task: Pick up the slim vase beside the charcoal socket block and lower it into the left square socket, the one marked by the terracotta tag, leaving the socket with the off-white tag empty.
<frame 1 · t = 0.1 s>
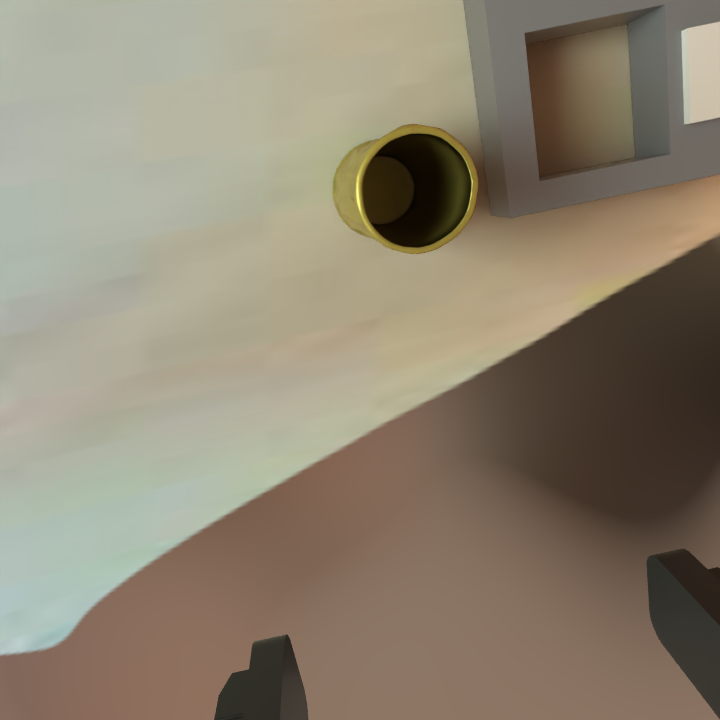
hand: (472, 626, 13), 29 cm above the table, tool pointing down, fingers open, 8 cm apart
vase: (379, 190, 38), on the table
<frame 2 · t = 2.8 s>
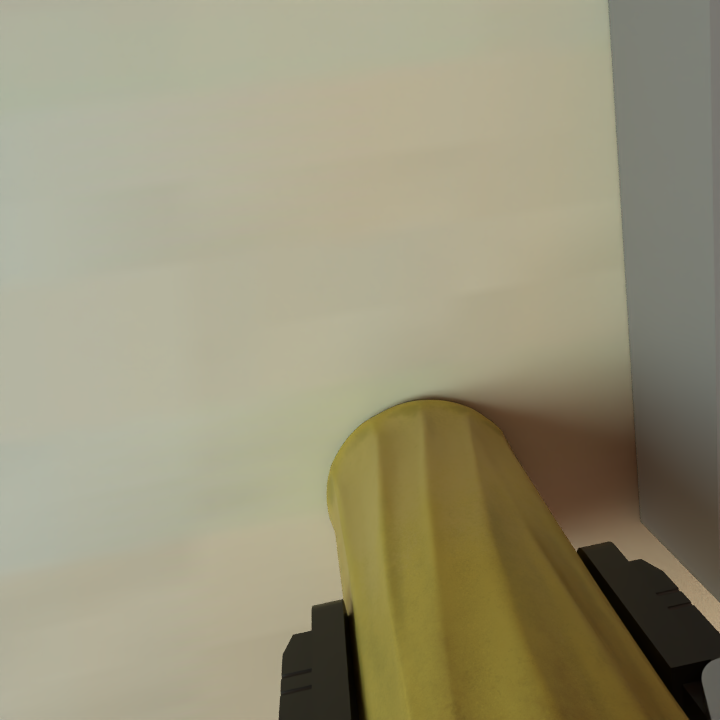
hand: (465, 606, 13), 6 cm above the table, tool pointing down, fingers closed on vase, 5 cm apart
vase: (421, 484, 19), on the table, touching gripper
when the fingers open (7 cm above the table, at t = 8.4 s): vase drops 1 cm, resting in socket block.
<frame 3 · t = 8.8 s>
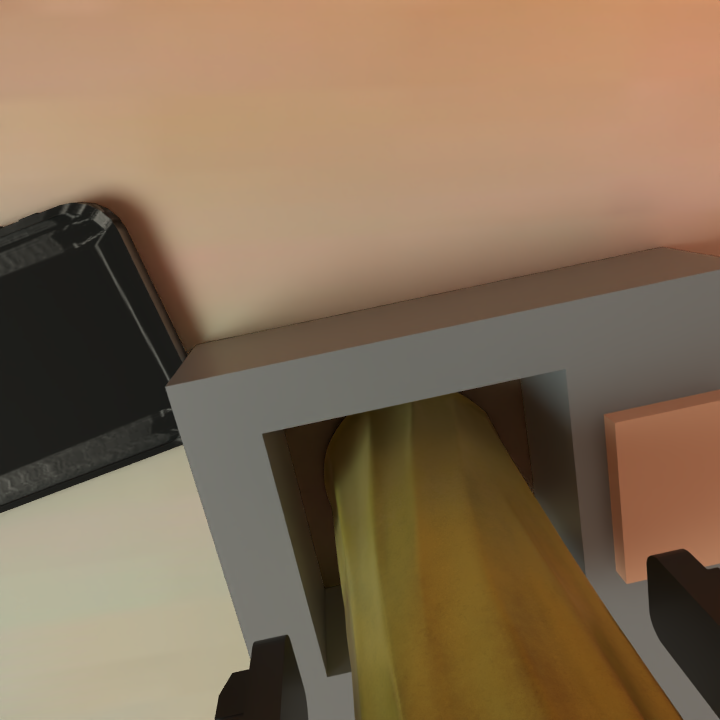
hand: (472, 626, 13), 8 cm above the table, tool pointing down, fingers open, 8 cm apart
socket block: (442, 615, 22), on the table
vase: (412, 464, 20), resting in socket block
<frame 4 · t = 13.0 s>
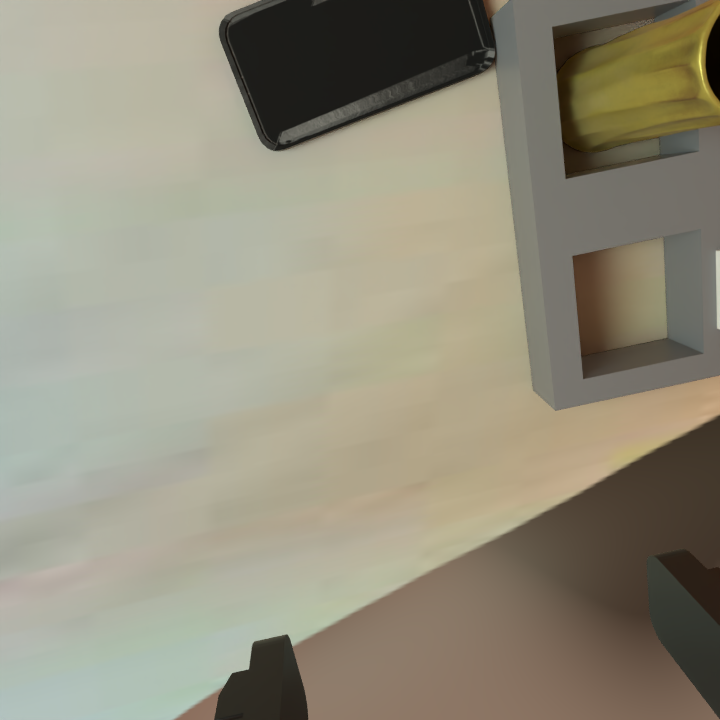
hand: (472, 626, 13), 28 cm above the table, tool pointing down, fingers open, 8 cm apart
phone: (357, 47, 35), on the table
socket block: (602, 202, 39), on the table
vase: (593, 101, 37), resting in socket block
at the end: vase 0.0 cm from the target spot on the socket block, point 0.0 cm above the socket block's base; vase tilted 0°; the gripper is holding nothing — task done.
